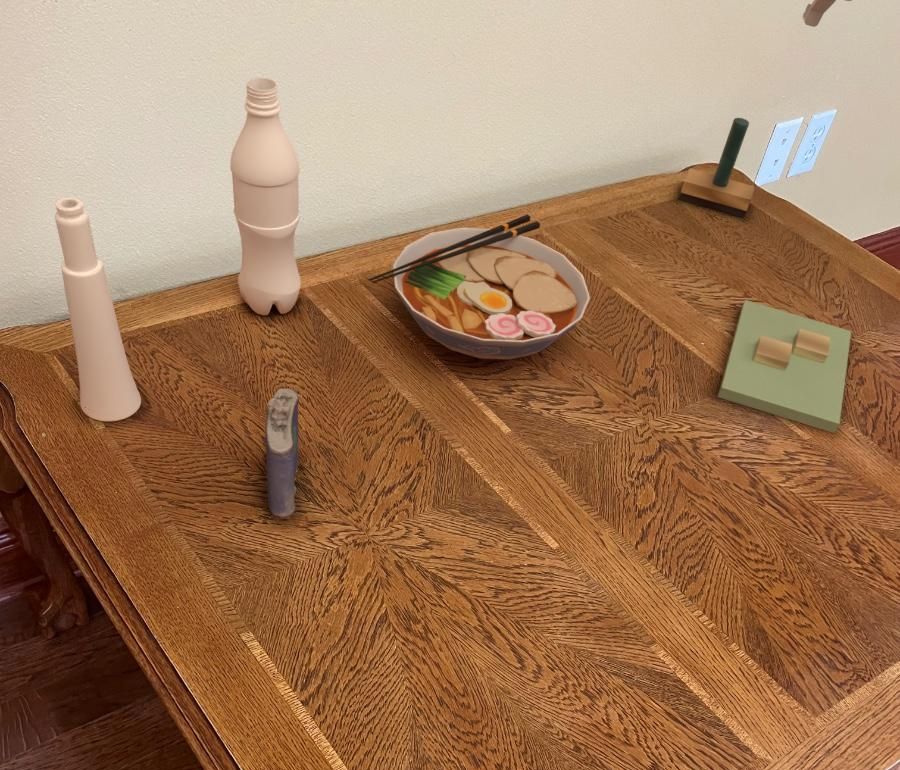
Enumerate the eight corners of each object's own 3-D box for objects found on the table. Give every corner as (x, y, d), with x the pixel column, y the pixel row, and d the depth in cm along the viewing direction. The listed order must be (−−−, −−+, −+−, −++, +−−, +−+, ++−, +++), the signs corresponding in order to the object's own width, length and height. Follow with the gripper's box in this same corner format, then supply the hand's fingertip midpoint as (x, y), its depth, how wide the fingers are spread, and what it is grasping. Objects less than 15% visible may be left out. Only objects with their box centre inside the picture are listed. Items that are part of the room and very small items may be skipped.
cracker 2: (795, 336, 118) (799, 328, 117) (826, 345, 117) (830, 337, 116) (791, 353, 115) (795, 345, 114) (823, 363, 115) (828, 355, 114)
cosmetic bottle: (153, 402, 99) (120, 204, 82) (108, 430, 95) (64, 230, 78) (113, 377, 101) (73, 177, 84) (68, 403, 97) (16, 201, 80)
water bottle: (310, 296, 114) (310, 79, 94) (284, 328, 109) (279, 107, 90) (256, 279, 115) (245, 61, 95) (228, 310, 110) (211, 88, 91)
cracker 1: (756, 343, 116) (760, 334, 115) (788, 352, 115) (792, 344, 115) (752, 361, 113) (756, 352, 113) (785, 370, 113) (789, 362, 112)
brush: (747, 205, 141) (778, 124, 132) (743, 219, 138) (774, 137, 129) (683, 187, 142) (709, 105, 133) (677, 200, 139) (704, 117, 130)
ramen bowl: (462, 425, 102) (472, 363, 96) (342, 315, 112) (344, 253, 106) (620, 354, 114) (639, 295, 107) (499, 260, 124) (509, 201, 117)
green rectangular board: (740, 309, 123) (744, 299, 122) (846, 340, 121) (851, 330, 120) (717, 397, 111) (721, 387, 110) (834, 433, 109) (839, 423, 108)
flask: (294, 521, 91) (292, 437, 82) (263, 520, 90) (258, 435, 82) (300, 456, 96) (299, 371, 88) (271, 454, 96) (267, 369, 88)
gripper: (913, -81, 103) (843, 50, 113) (862, -145, 115) (803, -21, 125) (862, -96, 101) (796, 38, 112) (816, -159, 113) (760, -33, 124)
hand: (799, 6), depth 119 cm, fingers open, 8 cm apart
